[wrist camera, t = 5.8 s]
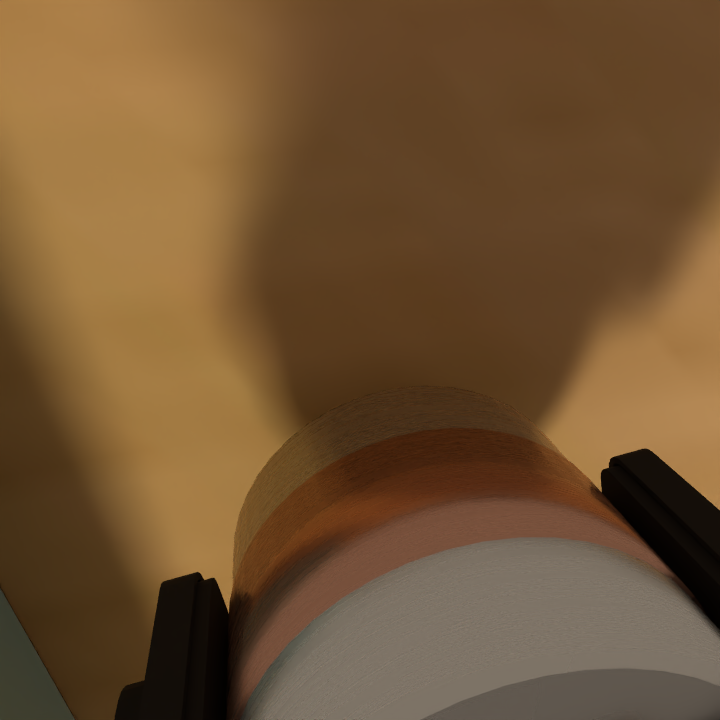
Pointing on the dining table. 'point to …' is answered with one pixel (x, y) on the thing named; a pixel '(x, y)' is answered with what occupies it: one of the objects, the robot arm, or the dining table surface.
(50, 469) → the dining table surface
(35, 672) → the tray
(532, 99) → the dining table surface
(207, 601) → the robot arm
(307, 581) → the tin
